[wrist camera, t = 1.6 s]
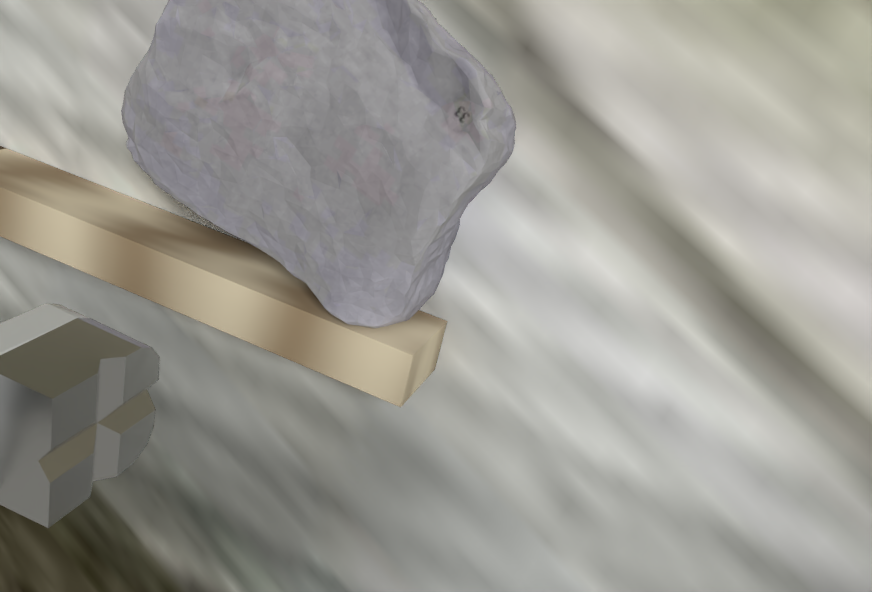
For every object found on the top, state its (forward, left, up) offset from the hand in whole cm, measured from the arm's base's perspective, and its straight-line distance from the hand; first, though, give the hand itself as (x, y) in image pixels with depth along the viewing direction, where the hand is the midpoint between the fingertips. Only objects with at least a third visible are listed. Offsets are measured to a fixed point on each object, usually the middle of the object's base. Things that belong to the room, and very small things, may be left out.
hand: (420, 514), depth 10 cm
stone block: (+10, +1, -18) cm, 21 cm away
